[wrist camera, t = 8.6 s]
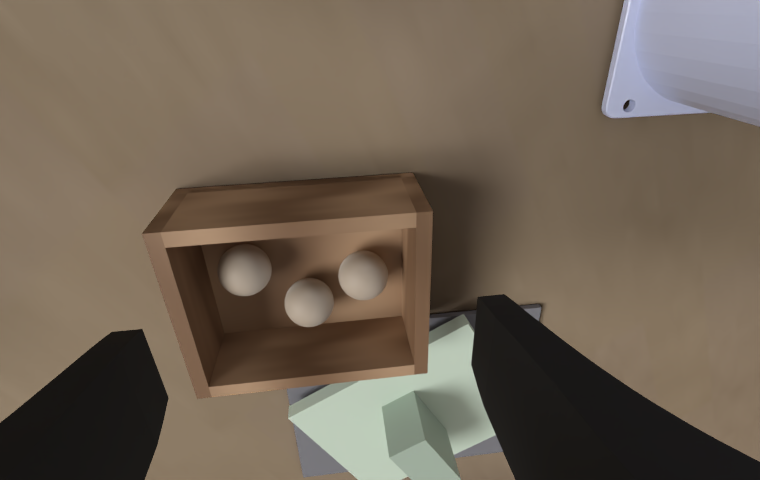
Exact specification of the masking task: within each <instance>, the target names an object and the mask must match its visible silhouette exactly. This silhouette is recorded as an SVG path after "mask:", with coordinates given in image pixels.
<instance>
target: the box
mask: <svg viewBox="0 0 760 480" xmlns="http://www.w3.org/2000/svg"><path fill="white" fill-rule="evenodd" d="M432 228H433V210H432V208H431V206H430V205H429V203H428V201H427V199H426V197H425V195H424V193H423V191H422V189H421V187H420V186H419V184H418V182H417V180H416V178H415V176H414V174H413V173H400V174H385V175H371V176H356V177H342V178H327V179H313V180H298V181H284V182H269V183H255V184H241V185H226V186H212V187H197V188H183V189H176V190H175V191H174V193H173V194H172V195H171V197H170V198H169V199H168V200H167V202H166V203H165V204H164V206H163V207H162V208H161V210H160V211H159V212H158V214H157V215H156V216H155V217H154V219H153V220H152V221H151V223H150V224H149V225H148V227H147V228H146V229H145V231H144V232H143V233H142V236H143V239H144V242H145V245H146V248H147V251H148V253H149V256H150V259H151V262H152V265H153V268H154V271H155V274H156V277H157V280H158V283H159V286H160V289H161V292H162V295H163V298H164V301H165V304H166V307H167V310H168V313H169V316H170V319H171V322H172V325H173V328H174V331H175V334H176V337H177V340H178V343H179V346H180V349H181V352H182V355H183V358H184V361H185V364H186V367H187V370H188V373H189V376H190V379H191V382H192V385H193V387H194V390H195V393H196V396H197V399H199V398H208V397H217V396H227V395H236V394H245V393H254V392H263V391H272V390H281V389H290V388H299V387H308V386H317V385H326V384H335V383H344V382H353V381H362V380H371V379H380V378H389V377H398V376H407V375H416V374H425V373H428V346H429V316H430V287H431V257H432Z"/></svg>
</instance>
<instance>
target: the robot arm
mask: <svg viewBox="0 0 760 480" xmlns="http://www.w3.org/2000/svg"><path fill="white" fill-rule="evenodd" d="M627 100H629V105H628V107H627V108H626V109H624V110H623V105H624V103H625V102H626V101H627ZM602 112H603V114H604V115H606V116H607V117H610V118H629V117H645V116H662V115H678V114H695V113H714V114H717V115H721V116H724V117H728V118H731V119H735V120H738V121H742V122H745V123H748V124H752V125H755V126H759V127H760V0H624V4H623V9H622V13H621V18H620V23H619V27H618V32H617V37H616V41H615V46H614V51H613V55H612V60H611V65H610V69H609V74H608V79H607V83H606V88H605V93H604V97H603V102H602ZM471 366H472V369H473V373H474V376H475V380H476V383H477V387H478V390H479V393H480V396H481V400H482V403H483V406H484V408H485V411H486V413H487V416H488V418H489V420H490V422H491V425H492V427H493V429H494V432H495V434H496V436H497V439H498V441H499V443H500V445H501V448H502V450H503V452H504V455H505V457H506V459H507V461H508V464H509V466H510V468H511V470H512V473H513V475H514V477H515V480H760V462H759V461H757V460H755V459H753V458H751V457H749V456H747V455H745V454H743V453H741V452H740V451H738V450H736V449H734V448H732V447H730V446H728V445H726V444H724V443H722V442H720V441H719V440H717V439H715V438H713V437H711V436H709V435H708V434H706V433H704V432H702V431H700V430H699V429H697V428H695V427H693V426H692V425H690V424H688V423H687V422H685V421H683V420H681V419H680V418H678V417H676V416H675V415H673V414H671V413H670V412H668V411H666V410H665V409H663V408H661V407H660V406H658V405H656V404H655V403H653V402H651V401H650V400H648V399H647V398H645V397H643V396H642V395H640V394H639V393H637V392H636V391H634V390H632V389H631V388H630V387H628V386H627V385H625V384H624V383H622V382H621V381H619V380H618V379H616V378H615V377H613V376H612V375H610V374H609V373H607V372H606V371H604V370H603V369H602V368H600V367H599V366H597V365H596V364H595V363H593V362H592V361H590V360H589V359H588V358H586V357H585V356H583V355H582V354H581V353H579V352H578V351H577V350H575V349H574V348H573V347H571V346H570V345H569V344H567V343H566V342H565V341H563V340H562V339H561V338H559V337H558V336H557V335H556V334H554V333H553V332H552V331H550V330H549V329H548V328H547V327H545V326H544V325H543V324H542V323H540V322H539V321H538V320H536V319H535V318H534V317H533V316H531V315H530V314H529V313H528V312H526V311H525V310H524V309H523V308H521V307H520V306H519V305H518V304H516V303H515V302H514V301H512V300H511V299H510V298H508V297H507V296H506V295H504V294H503V295H493V296H483V297H478V300H477V310H476V320H475V330H474V340H473V350H472V360H471ZM167 402H168V395H167V393H166V390H165V388H164V385H163V382H162V380H161V377H160V374H159V372H158V369H157V367H156V364H155V361H154V359H153V356H152V353H151V351H150V348H149V346H148V343H147V340H146V338H145V335H144V332H143V330H142V329H139V330H128V331H118V332H111V333H110V334H109V335H107V336H106V337H105V338H103V339H102V340H101V341H99V342H98V343H97V344H96V345H94V346H93V347H92V348H91V349H89V350H88V351H87V352H86V353H85V354H83V355H82V356H81V357H80V358H78V359H77V360H76V361H75V362H74V363H72V364H71V365H70V366H69V367H68V368H67V369H65V370H64V371H63V372H62V373H61V374H59V375H58V376H57V377H56V378H55V379H53V380H52V381H51V382H50V383H49V384H47V385H46V386H45V387H44V388H42V389H41V390H40V391H39V392H38V393H36V394H35V395H34V396H33V397H32V398H30V399H29V400H28V401H27V402H25V403H24V404H23V405H22V406H21V407H19V408H18V409H17V410H16V411H15V412H13V413H12V414H11V415H10V416H8V417H7V418H6V419H5V420H3V421H2V422H1V423H0V480H145V477H146V474H147V471H148V469H149V466H150V463H151V461H152V458H153V455H154V453H155V450H156V447H157V444H158V440H159V436H160V432H161V428H162V424H163V420H164V415H165V411H166V406H167Z"/></svg>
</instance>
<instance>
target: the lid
mask: <svg viewBox="0 0 760 480" xmlns="http://www.w3.org/2000/svg"><path fill="white" fill-rule="evenodd" d="M473 340H474V329H473V327H472V326H471V324H470V323H469V321H468V320H467V318H466V317H465V315H464V314H462V315H460V316H458V317H456V318H454V319H452V320H451V321H449V322H447V323H445V324H443V325H441V326H439V327H437V328H435V329H434V330H432V331H430V332H429V346H428V373H425V374H416V375H407V376H398V377H389V378H380V379H371V380H362V381H353V382H344V383H335V384H330V385H328V386H326V387H324V388H322V389H320V390H318V391H317V392H315V393H313V394H311V395H309V396H307V397H305V398H303V399H301V400H300V401H298V402H296V403H294V404H292V405H290V406H289V413H288V419H289V420H291V421H292V422H293V423H294V424H295V425H296V426H297V427H299V428H300V429H301V430H302V431H303V432H304V433H305V434H307V435H308V436H309V437H310V438H311V439H312V440H313V441H314V442H316V443H317V444H318V445H319V446H320V447H321V448H322V449H324V450H325V451H326V452H327V453H328V454H329V455H330V456H332V457H333V458H334V459H335V460H336V461H337V462H338V463H340V464H341V465H342V466H343V467H344V468H345V469H346V470H348V471H349V472H350V473H351V474H352V475H353V476H354V477H356V478H357V479H358V480H402V479H404V478H406V477H409V478H410V479H411V480H461V478H460V475H459V471H458V468H457V464H456V461H455V458H454V455H455V454H457V453H459V452H461V451H463V450H465V449H467V448H469V447H472V446H474V445H476V444H478V443H480V442H482V441H484V440H486V439H488V438H491V437H493V436H495V435H496V434H495V432H494V429H493V427H492V425H491V422H490V420H489V418H488V416H487V413H486V411H485V408H484V406H483V403H482V400H481V396H480V393H479V390H478V387H477V383H476V380H475V376H474V373H473V369H472V366H471V360H472V350H473Z"/></svg>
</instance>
